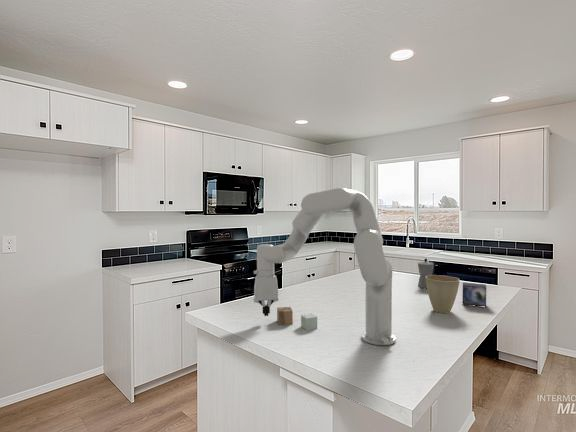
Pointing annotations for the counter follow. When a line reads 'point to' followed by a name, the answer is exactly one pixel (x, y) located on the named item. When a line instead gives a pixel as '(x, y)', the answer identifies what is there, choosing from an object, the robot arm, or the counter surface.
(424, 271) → the coffeepot
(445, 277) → the plant pot
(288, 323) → the walnut block
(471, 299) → the picture frame
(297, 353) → the counter surface
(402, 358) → the counter surface
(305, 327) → the sage block
